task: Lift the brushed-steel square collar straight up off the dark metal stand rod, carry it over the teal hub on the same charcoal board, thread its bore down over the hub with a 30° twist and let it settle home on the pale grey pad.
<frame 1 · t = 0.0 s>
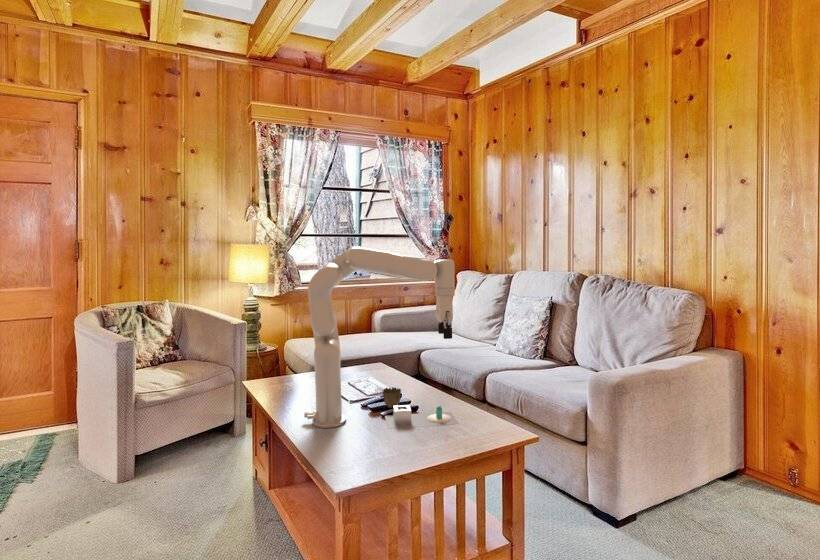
hand: (445, 335, 196), 31 cm above the table, fingers open, 9 cm apart
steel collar: (402, 421, 190), point 1 cm above the table, touching tool board
cup: (392, 409, 206), on the table
tool board: (420, 422, 191), on the table
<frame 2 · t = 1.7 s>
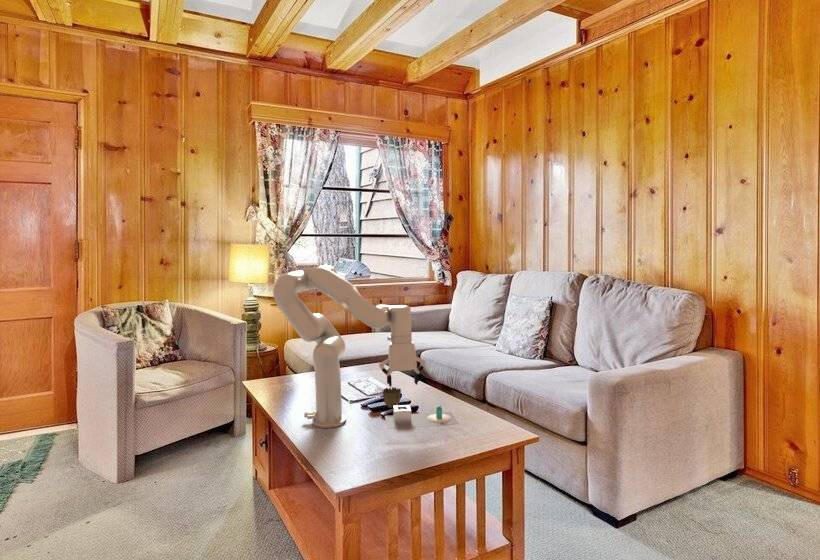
hand: (403, 384, 188), 15 cm above the table, fingers open, 9 cm apart
nothing on the table moved.
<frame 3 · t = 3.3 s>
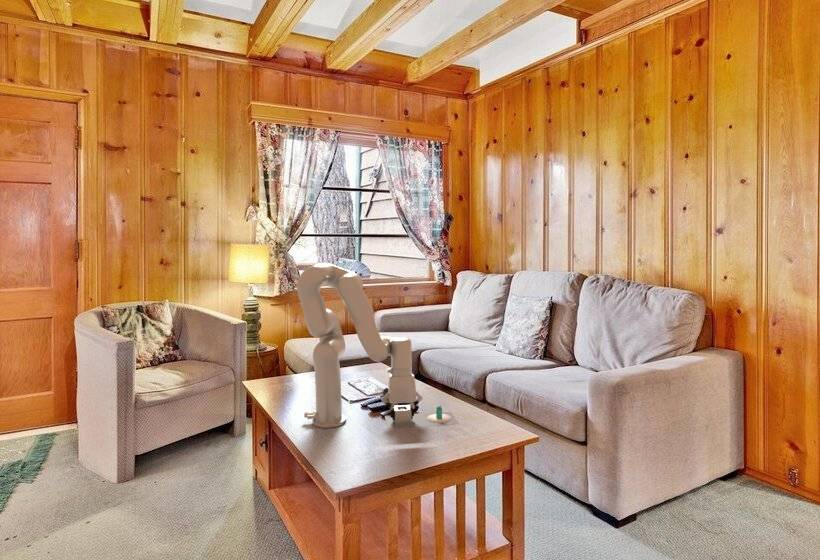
hand: (402, 418, 190), 2 cm above the table, fingers closed on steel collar, 6 cm apart
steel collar: (402, 421, 190), point 1 cm above the table, touching gripper, tool board
everything else where it was.
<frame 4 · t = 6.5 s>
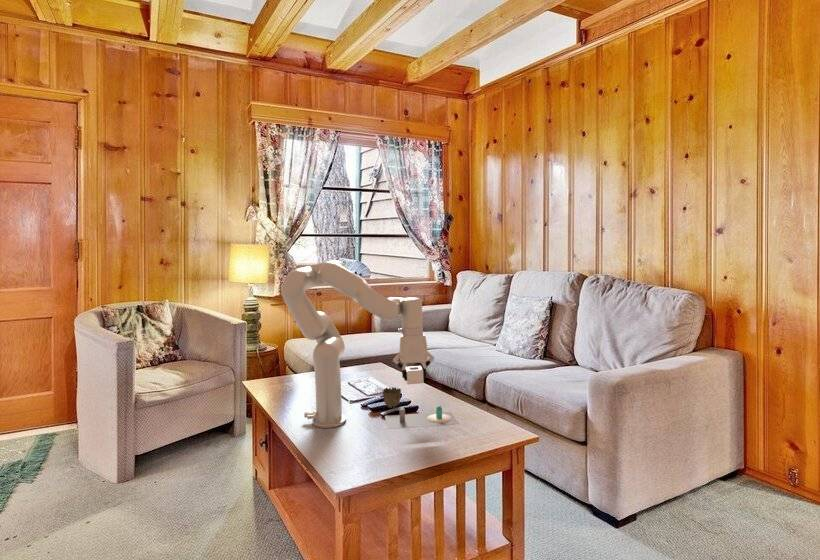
hand: (414, 378, 189), 17 cm above the table, fingers closed on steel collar, 6 cm apart
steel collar: (414, 381, 189), point 16 cm above the table, touching gripper
everything else where it was.
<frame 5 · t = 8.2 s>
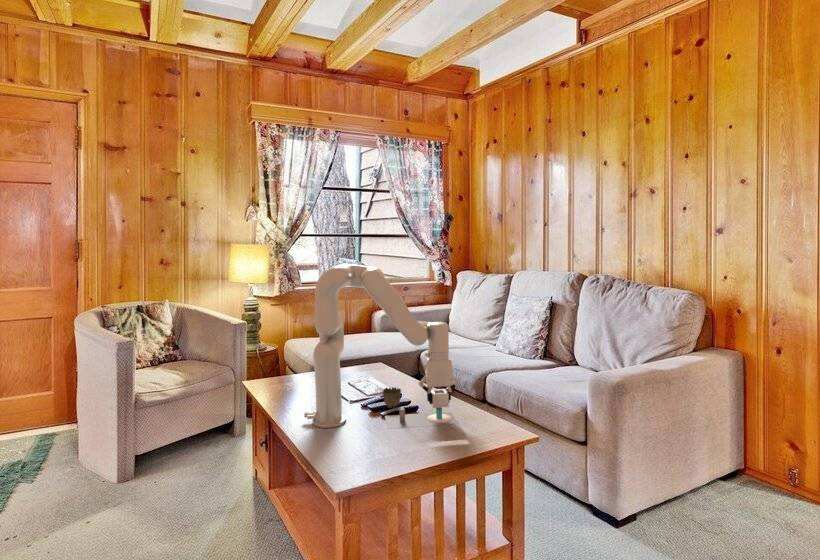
hand: (439, 401, 191), 8 cm above the table, fingers closed on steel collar, 6 cm apart
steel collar: (439, 404, 191), point 7 cm above the table, touching gripper
everything else where it was.
when the fingers open (4 cm above the table, at t = 9.7 s): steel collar drops 1 cm, resting on tool board.
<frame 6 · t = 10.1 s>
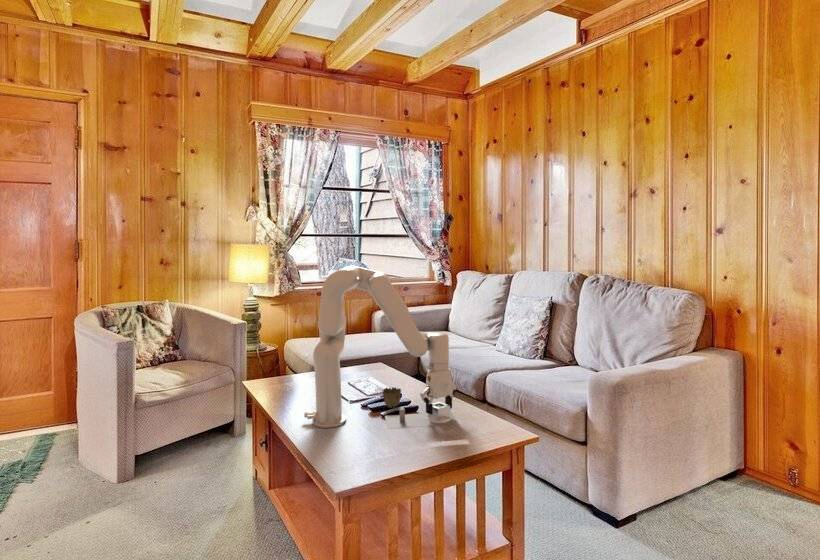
hand: (439, 410, 191), 4 cm above the table, fingers open, 9 cm apart
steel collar: (439, 418, 192), point 1 cm above the table, touching tool board
everything else where it was.
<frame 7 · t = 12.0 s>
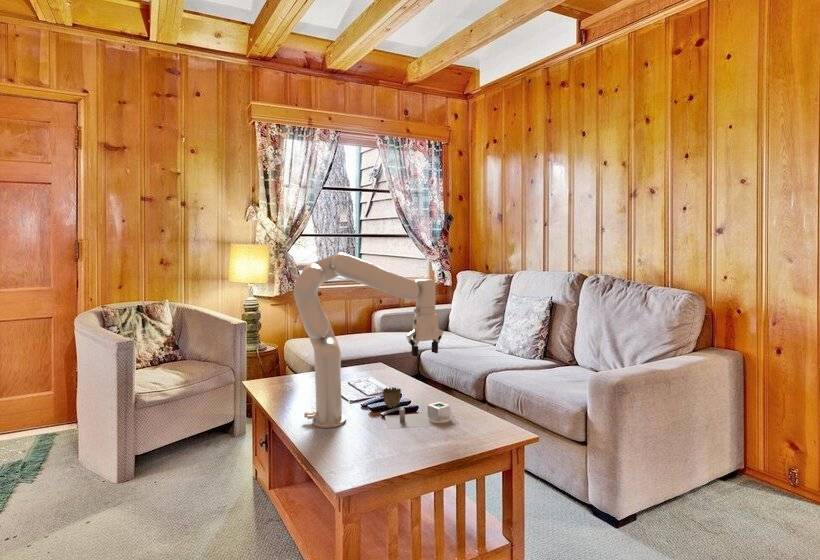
hand: (425, 354, 198), 24 cm above the table, fingers open, 9 cm apart
nothing on the table moved.
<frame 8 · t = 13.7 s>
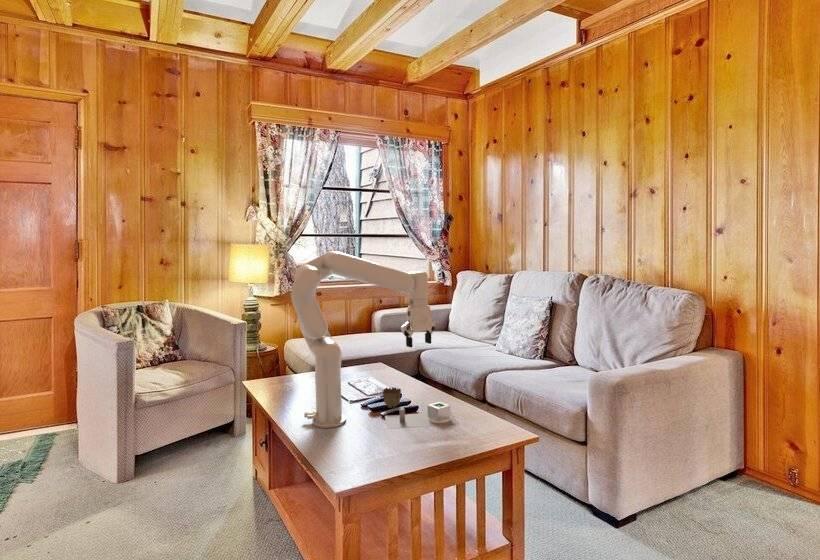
hand: (418, 344, 203), 26 cm above the table, fingers open, 9 cm apart
nothing on the table moved.
at the end: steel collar 0.1 cm from the target spot on the tool board, point 1.4 cm above the tool board's base; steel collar tilted 0°; the gripper is holding nothing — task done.
